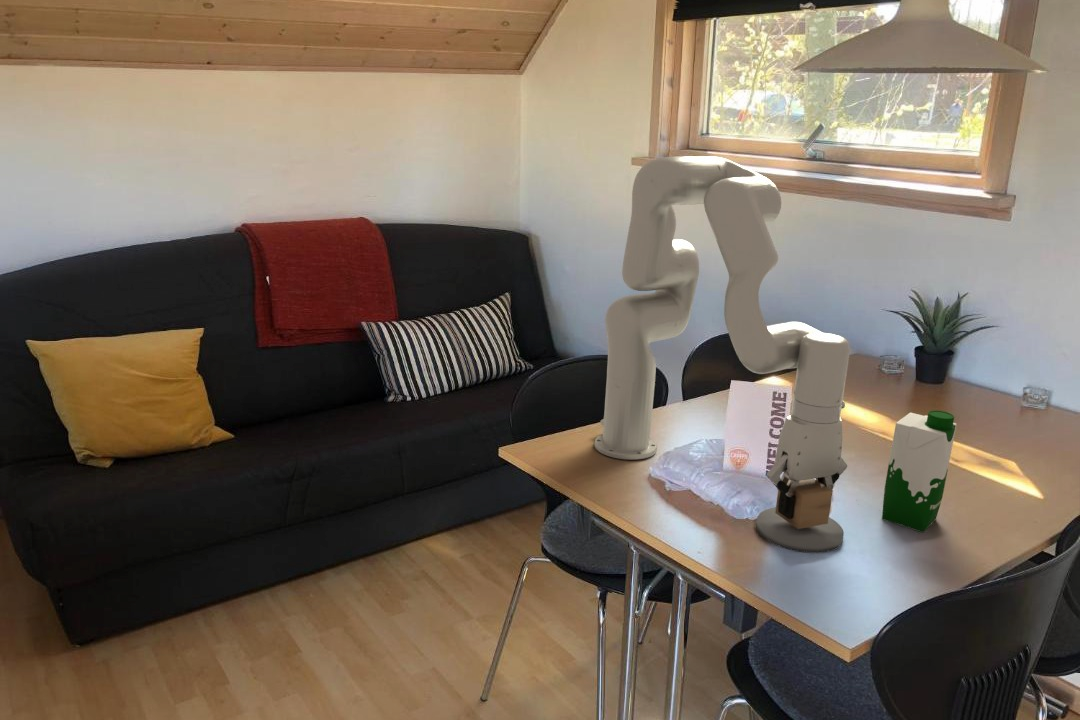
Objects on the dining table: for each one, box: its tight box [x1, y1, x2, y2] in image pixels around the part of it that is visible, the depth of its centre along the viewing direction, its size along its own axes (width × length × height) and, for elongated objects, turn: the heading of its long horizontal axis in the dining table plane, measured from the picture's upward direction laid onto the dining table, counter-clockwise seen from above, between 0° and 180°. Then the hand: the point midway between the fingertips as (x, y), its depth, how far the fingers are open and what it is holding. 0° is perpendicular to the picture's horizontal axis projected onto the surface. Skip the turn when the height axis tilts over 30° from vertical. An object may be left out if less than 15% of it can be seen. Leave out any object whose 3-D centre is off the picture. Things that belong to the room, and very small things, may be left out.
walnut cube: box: [775, 478, 834, 529], centre depth 148 cm, size 6×6×6 cm
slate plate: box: [755, 506, 845, 554], centre depth 149 cm, size 14×14×1 cm
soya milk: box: [881, 410, 958, 533], centre depth 153 cm, size 9×9×20 cm
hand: (801, 511), depth 148 cm, fingers closed on walnut cube, 6 cm apart
